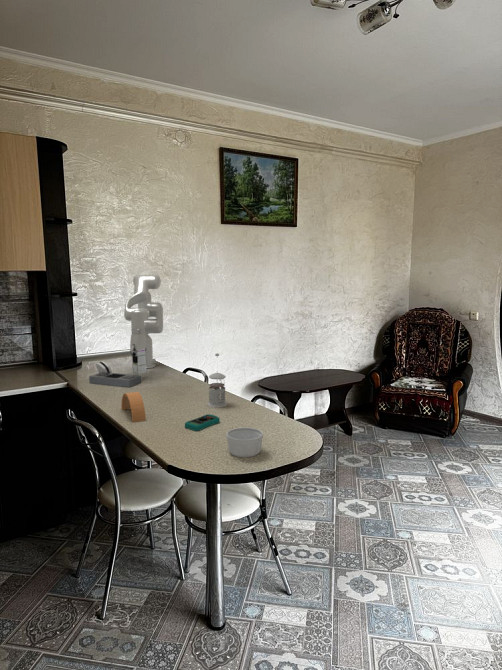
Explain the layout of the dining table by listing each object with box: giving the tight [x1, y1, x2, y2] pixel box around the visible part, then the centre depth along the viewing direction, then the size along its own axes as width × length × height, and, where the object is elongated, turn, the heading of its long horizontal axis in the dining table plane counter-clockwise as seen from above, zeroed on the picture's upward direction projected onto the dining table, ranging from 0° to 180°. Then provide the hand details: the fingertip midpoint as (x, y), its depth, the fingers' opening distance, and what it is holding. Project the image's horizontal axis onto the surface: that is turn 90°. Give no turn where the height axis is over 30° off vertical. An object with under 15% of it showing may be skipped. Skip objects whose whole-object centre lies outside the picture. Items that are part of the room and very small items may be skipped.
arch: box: [121, 391, 146, 423], centre depth 208 cm, size 6×20×10 cm, turn 28°
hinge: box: [95, 360, 113, 373], centre depth 280 cm, size 17×5×10 cm, turn 36°
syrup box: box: [132, 348, 147, 375], centre depth 273 cm, size 6×6×14 cm
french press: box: [206, 353, 228, 408], centre depth 225 cm, size 10×12×25 cm
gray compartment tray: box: [88, 372, 142, 388], centre depth 264 cm, size 12×26×4 cm, turn 71°
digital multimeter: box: [184, 413, 221, 432], centre depth 196 cm, size 7×15×3 cm, turn 143°
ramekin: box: [225, 426, 264, 458], centre depth 168 cm, size 13×13×7 cm
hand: (139, 361), depth 273 cm, fingers closed on syrup box, 7 cm apart
